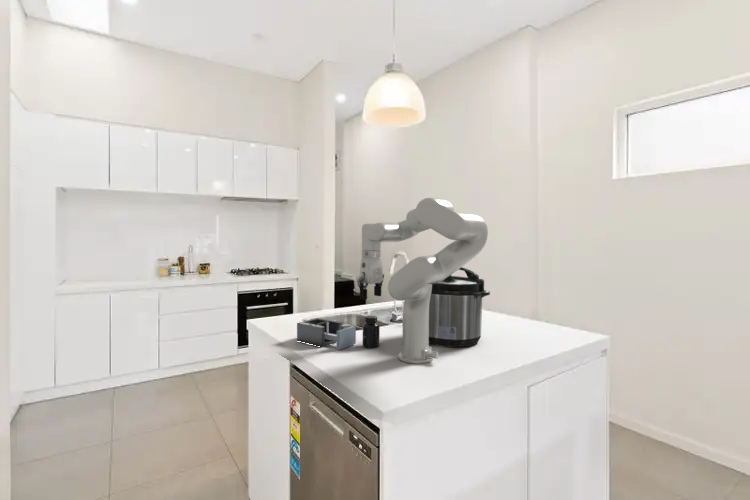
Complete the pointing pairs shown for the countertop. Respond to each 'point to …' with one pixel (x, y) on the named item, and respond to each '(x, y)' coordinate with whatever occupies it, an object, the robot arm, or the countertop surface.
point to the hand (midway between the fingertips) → (370, 297)
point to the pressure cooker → (456, 310)
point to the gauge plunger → (341, 336)
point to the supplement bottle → (371, 332)
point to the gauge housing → (317, 331)
